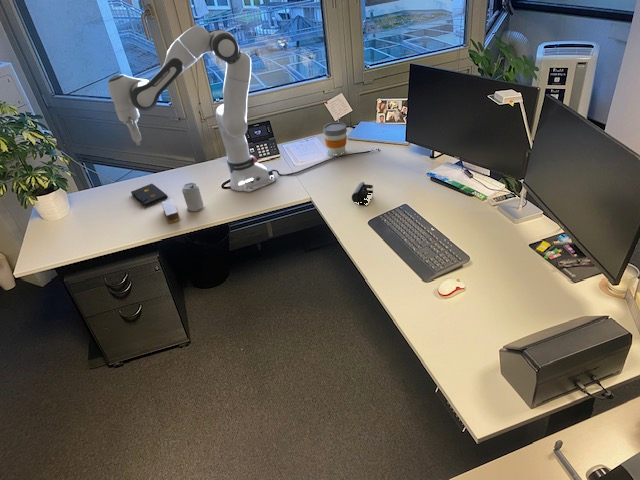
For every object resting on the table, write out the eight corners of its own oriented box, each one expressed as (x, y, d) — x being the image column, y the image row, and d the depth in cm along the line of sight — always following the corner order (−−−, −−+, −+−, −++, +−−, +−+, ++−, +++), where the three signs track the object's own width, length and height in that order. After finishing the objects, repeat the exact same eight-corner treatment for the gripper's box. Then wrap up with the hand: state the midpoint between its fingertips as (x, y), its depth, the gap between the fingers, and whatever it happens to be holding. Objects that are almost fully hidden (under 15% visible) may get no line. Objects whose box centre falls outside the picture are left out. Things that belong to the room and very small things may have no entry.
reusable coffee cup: (337, 145, 261) (335, 120, 252) (352, 151, 253) (351, 125, 244) (320, 153, 255) (318, 127, 246) (335, 159, 247) (333, 133, 238)
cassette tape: (131, 195, 235) (130, 191, 234) (153, 186, 241) (151, 182, 239) (145, 207, 223) (144, 203, 222) (167, 198, 229) (166, 194, 228)
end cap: (358, 194, 215) (357, 181, 211) (373, 195, 213) (372, 182, 209) (351, 205, 208) (351, 191, 204) (367, 206, 205) (366, 193, 201)
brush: (174, 207, 221) (171, 199, 218) (180, 220, 210) (177, 212, 208) (163, 210, 220) (161, 202, 217) (169, 224, 209) (166, 215, 206)
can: (200, 212, 215) (193, 189, 208) (185, 211, 216) (178, 189, 209) (206, 203, 221) (200, 181, 214) (192, 203, 222) (185, 181, 215)
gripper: (139, 119, 192) (149, 150, 200) (133, 106, 208) (142, 135, 216) (123, 123, 191) (134, 154, 199) (118, 109, 206) (128, 138, 214)
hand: (138, 144), depth 207 cm, fingers closed
